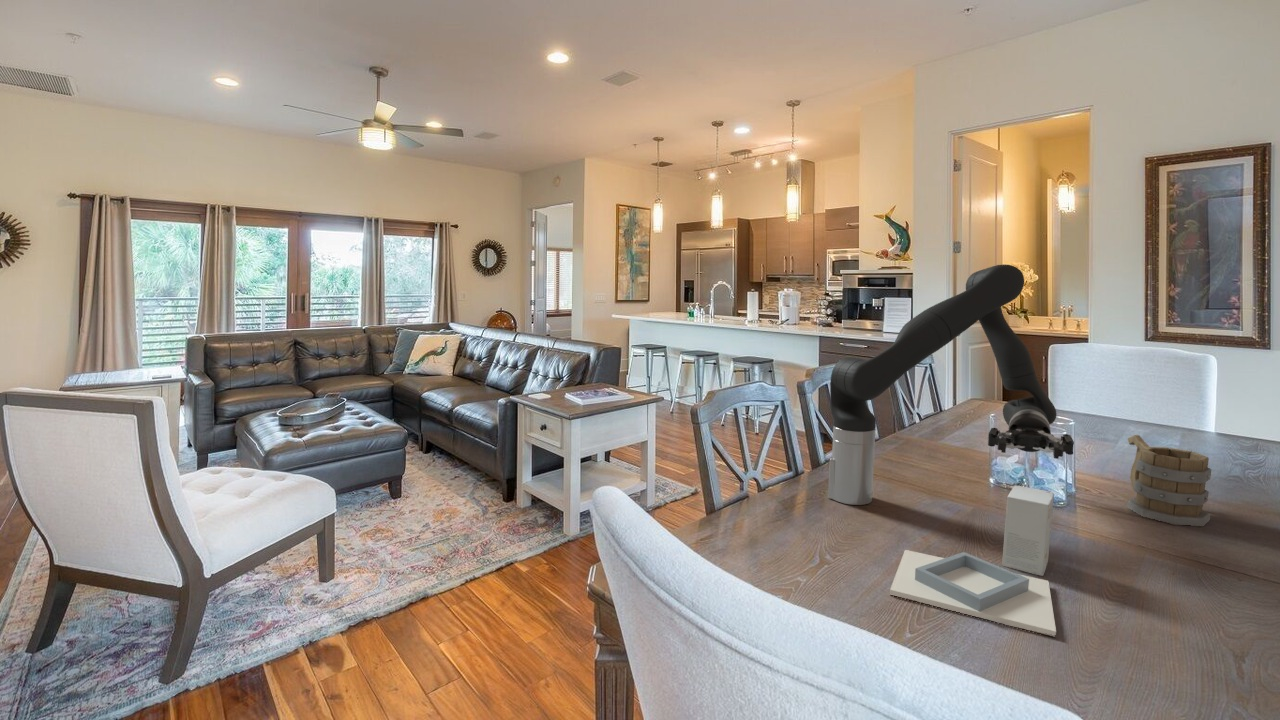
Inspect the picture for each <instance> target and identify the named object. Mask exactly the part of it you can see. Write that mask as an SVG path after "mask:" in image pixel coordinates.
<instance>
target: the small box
mask: <svg viewBox="0 0 1280 720" xmlns="http://www.w3.org/2000/svg"><path fill="white" fill-rule="evenodd" d="M1054 497H1055V493H1054V492H1053V491H1048V490H1044V489H1038V488H1033V487H1026V486H1020V485H1016V484H1015V485H1014V484H1013V486H1012V488H1011V490H1010V492H1009V493H1008V495H1007V497H1006V512H1005V523H1004V524H1005V525H1004V535H1003V536H1004V537H1003V546H1002V547H1003V549H1002V559H1001V565H1002V566H1003V567H1005V568H1010V569H1014V570H1017V571H1021V572H1025V573H1030V574H1033V575H1036V576H1041V577H1044V574H1045V571H1046V568H1047V566H1048V562H1049V555H1050V554H1049V553H1050V542H1051V541H1050V540H1051V528H1052V520H1053V519H1052V518H1053V508H1054Z"/></svg>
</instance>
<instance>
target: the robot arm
mask: <svg viewBox="0 0 1280 720" xmlns="http://www.w3.org/2000/svg"><path fill="white" fill-rule="evenodd" d="M1024 285H1025V275H1024V274H1023V272H1022V271H1021V270H1020V268H1018V267H1016V266H1014V265H1012V264H996V265H993V266H989V267H987V268H983V269H980V270H978V271H977V270H976V271H975V272H973V273H971V274H970V275H969V277H968V278H967V280H966V282H965V291H963V292H961V293H959V294H957V295H954V296H951V297H950V298H947V299H944V300H943V301H940V302H938V303H936V304H934V305H932V306H930V307H929V308H926V309H924V310H923V311H921V312H920V313H918V314H917V315H916V316H914V317H912V318H911V319H909V321H907V322H906V323H905V324H904V325H902V327H901V329H900V330H899V332H898V335H897V336H896V339H895V340H894V341H893V343H892V344H891V345H890V346H889V347H888V348H886V349H885V350H883V351H882V352H880V353H879V354H876V355H875V356H873V357H871V358H869V359H863V358H859V357H850V356H849V357H844V358H841V359H840V360H838V361H837V362H836V363H835V364H834V367H833V369H832V371H831V375H830V381H829V382H830V384H829V385H830V386H829V387H830V389H829V391H830V392H829V394H830V395H829V396H830V401H829V402H830V403H829V404H830V414H831V416H832V419H833V424H832V425H833V429H832V431H833V432H832V450H831V452H832V455H831V457H830V458H829V464H828V465H829V468H828V491H827V499H830V500H834V501H836V502H839V503H841V504H845V505H852V506H853V505H854V506H863V505H869V504H870V503H872V501H873V485H874V483H873V481H874V467H875V466H874V463H875V446H876V445H875V444H876V424H877V420H876V417H875V415H874V414H873V413H872V412H871V410H870V409H869V407H868V405H867V402H868V401H872V400H874V399H876V398H878V397H879V396H881V395H882V394H883V393H884V392H885V391H887V390H888V388H890V387H891V386H893V384H895V383H896V382H897V381H898V380H899V379H900V378H901V377H902V376H904V375H905V374H906V373H908V372H909V371H910V370H911V369H913V368H914V367H916V366H918V365H919V364H920V363H921V362H922V361H924V360H926V359H927V358H928V357H929V356H931V355H933V354H934V353H936V352H938V351H939V350H941V349H942V348H944V347H945V346H946V345H948V344H949V343H950V342H951V341H953V340H954V339H955V338H956V337H958V336H960V335H962V333H964V332H965V331H967V330H968V329H969V328H970V327H972V326H973V325H974V324H976V323H977V322H979V324H980V326H981V328H982V329H983V332H984V334H985V337H986V338H987V341H988V342H989V344H990V348H991V349H992V353H993V355H994V357H995V360H996V364H997V369H998V372H999V374H1000V378H1001V382H1002V385H1003V387H1004V388H1005V390H1008V391H1025V392H1028V394H1029V393H1030V394H1031V395H1032V396H1031V397H1023V398H1019V399H1013V400H1009V401H1007V402H1005V404H1004V405H1003V407H1002V416H1003V418H1004V421H1005V423H1006V424H1007V425H1008V428H1007V429H1008V430H1006V431H1005V432H1001V430H999V429H998V428H997V427H991V428H990V430H989V432H988V437H987V438H988V440H987V442H988V443H987V445H988V446H989V447H995V446H997V450H998V451H1001V453H1002V454H1004V453H1005V454H1006V450H1007V449H1010V450H1014V449H1018V450H1020V451H1023V452H1027V453H1028V452H1029V453H1036V452H1039V451H1041V452H1043V453H1052V455H1053V458H1054V459H1057V460H1058V459H1059V458H1060V457H1061V458H1062V457H1063V456H1064V454H1066V455H1070V456H1072V455H1074V445H1075V442H1074V439H1073V438H1072V436H1071V434H1068V433H1064V434H1063V435H1060V437H1057V436H1055V435H1053V434H1052V433H1051V431H1052V430H1051V425H1052V424H1053V423H1054V422H1055V421H1056V418H1057V416H1058V415H1057V409H1056V407H1055V405H1054V404H1053V402H1052V401H1051V399H1050V398H1049V397H1048V395H1047V393H1046V392H1045V390H1044V389H1043V388H1042V385H1041V384H1040V382H1039V379H1038V376H1037V373H1036V370H1035V368H1034V364H1033V363H1034V362H1033V360H1032V357H1031V355H1030V352H1029V350H1028V348H1027V347H1026V345H1025V343H1024V342H1023V341H1022V340H1021V339H1020V337H1019V336H1018V335H1017V333H1016V332H1015V331H1014V330H1013V329H1012V328H1011V326H1010V324H1009V323H1008V322H1007V320H1006V318H1005V316H1004V313H1003V310H1002V307H1003V306H1005V305H1007V304H1009V303H1011V302H1013V301H1014V300H1015V299H1017V298H1018V297H1019V296H1020V294H1021V293H1022V291H1023V290H1024V287H1025V286H1024Z"/></svg>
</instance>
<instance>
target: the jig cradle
mask: <svg viewBox="0 0 1280 720" xmlns="http://www.w3.org/2000/svg"><path fill="white" fill-rule="evenodd" d="M1050 589H1051V588H1050V584H1049V580H1046V579H1042V578H1037V577H1033V576H1028V575H1023V574H1018V573H1016V572H1014V571H1011V570H1008V569H1006V568H1004V567H1001V566H998V565H997V564H994V563H992V562H989V561H987V560H984V559H982V558H980V557H977V556H976V555H972V554H970V553H967V552H966V551H962V552H960V553H956V554H953V555H951V556H948V557H940V556H936V555H931V554H927V553H923V552H917V551H914V550H908V549H904V552H903V555H902V557H901V560H900V562H899V565H898V567H897V570H896V573H895V575H894V578H893V581H892V583H891V586H890V588H889V595H890V594H891V595H895V596H899V597H904V598H908V599H912V600H916V601H919V602H923V603H927V604H930V605H934V606H937V607H941V608H945V609H948V610H952V611H956V612H960V613H964V614H968V615H972V616H976V617H981V618H984V619H989V620H993V621H997V622H1000V623H1004V624H1007V625H1011V626H1015V627H1019V628H1024V629H1027V630H1032V631H1037V632H1041V633H1047V634H1052V635H1056V636H1057V627H1056V621H1055V615H1054V609H1053V602H1052V597H1051V590H1050ZM937 607H936V608H937ZM948 610H947V611H948ZM952 611H951V612H952ZM956 612H955V613H956ZM960 613H959V614H960ZM964 614H963V615H964ZM968 615H967V616H968ZM972 616H971V617H972Z"/></svg>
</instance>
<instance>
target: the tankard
mask: <svg viewBox="0 0 1280 720" xmlns="http://www.w3.org/2000/svg"><path fill="white" fill-rule="evenodd" d="M1127 442H1128V444H1129V445H1131V446H1132V445H1133V446H1134V445H1135V446H1136V452H1135V459H1134V461H1133V463H1132V466H1131V468H1130V477H1129V479H1130V485H1131V488H1132V490H1133V491H1134V492H1135V493H1136V497H1134V498H1132V499H1130V500H1129V501H1127V506H1126V507H1127V508H1128V510H1130V509H1131V511H1132V510H1133V511H1132V512H1133V513H1135V512H1136V513H1135V514H1137V513H1138V514H1137V515H1139V516H1140V515H1141V517H1142V516H1143V517H1142V518H1145V517H1147V518H1146V519H1148V518H1151V519H1150V520H1152V519H1155V520H1154V521H1156V520H1160V521H1163V522H1162V523H1164V522H1167V523H1166V524H1168V523H1171V524H1170V525H1172V524H1175V525H1174V526H1182V525H1191V526H1190V527H1198V526H1202V527H1204V526H1206V524H1208V522H1210V521H1211V520H1210V519H1211V513H1209V512H1207V511H1205V510H1203V507H1204V504H1206V503H1207V502H1208V501H1209V500H1208V499H1209V493H1210V492H1209V490H1207V489H1206V483H1207V482H1208V481H1209V480H1211V478H1212V477H1211V476H1212V468H1209V466H1208V465H1209V459H1210V458H1209V457H1208V456H1206V455H1203V454H1201V453H1199V452H1196V451H1192V450H1186V449H1179V448H1175V447H1170V448H1169V447H1165V446H1164V447H1163V446H1149V444H1147V443H1146V442H1145V440H1144V439H1143V438H1142V437H1141V436H1140V435H1139V434H1134V435H1132V436H1130V437H1128V438H1127ZM1209 520H1210V521H1209ZM1160 521H1159V522H1160Z"/></svg>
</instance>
